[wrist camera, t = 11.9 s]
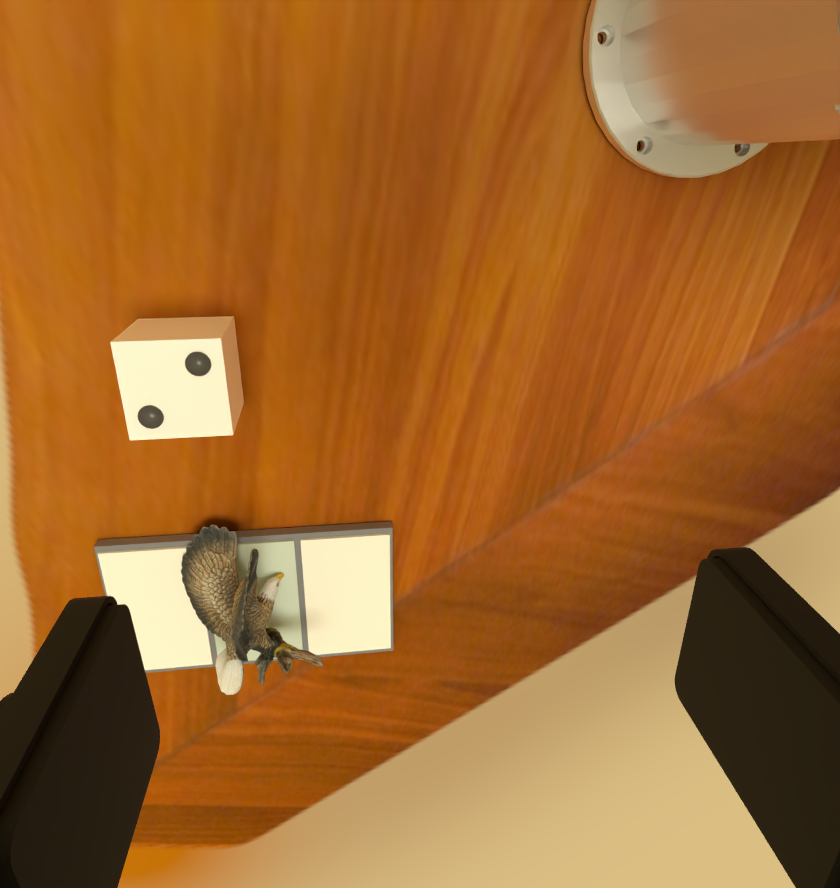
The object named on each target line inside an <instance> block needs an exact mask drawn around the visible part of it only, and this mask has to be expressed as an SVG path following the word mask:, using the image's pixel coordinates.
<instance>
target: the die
mask: <svg viewBox="0 0 840 888" xmlns="http://www.w3.org/2000/svg"><path fill="white" fill-rule="evenodd" d="M111 347H112V353H113V358H114V363H115V368H116V373H117V378H118V383H119V388H120V393H121V398H122V403H123V408H124V413H125V418H126V423H127V428H128V433H129V439H130V440H147V439H167V438H187V437H206V436H226V435H233V434H234V431H235V428H236V425H237V422H238V419H239V416H240V413H241V410H242V407H243V404H244V398H243V389H242V381H241V372H240V363H239V355H238V346H237V338H236V329H235V320H234V316H221V317H185V318H148V319H137V320H136V321H135V322H134V323H133V324H131V325H130V326H129V327H128V328H126V329H125V330H124V331H123V332H122V333H120V334H119V335H118V336H117V337H116V338H114V339H113V340H112V341H111Z"/></svg>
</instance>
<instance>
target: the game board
mask: <svg viewBox="0 0 840 888" xmlns="http://www.w3.org/2000/svg"><path fill="white" fill-rule="evenodd" d="M235 532H236V533H237V560H236V568H237V573H238V578H239V583H241V582H242V581H243V578H244V577H245V576H246V575H247V571H248V563H249V561H250V554H251V550H252V549H254V548H255V549H257V550H258V553H259V558H258V565H257V569H256V574H257V580H258V583H257V595H258V594H259V593H260V591H261V589H262V588H263V586H264V584H265V583H266V581H267V580H268V579H270V578H273V577H275V576H276V575H278V574H280V573H283V574H284V577H283V578H281V580H280V583H279V588H278V591H277V594H276V598H275V602H274V605H273V611H272V614H271V617H270V619H269V621H268V623H267V624H266V628H268V627H272V628H276V629H277V631H279V632H280V634H281V636H282V638H283V640H284V641H285V642H286V643H287V644H290V645H292V646H294V647H296V648H298V649H299V650H306V651H309V652H311V653H314V654H315V655H316V656H317V657H327V656H338V655H349V654H360V653H371V652H382V651H393V534H392V523H391V521H386V522H370V523H354V524H338V525H322V526H307V527H291V528H275V529H259V530H243V531H235ZM199 534H200V533H195V534H180V535H164V536H148V537H132V538H116V539H100V540H98V541H97V542H96V544H95V546H94V549H95V554H96V558H97V562H98V567H99V571H100V575H101V580H102V584H103V588H104V593H105V596H113V597H114V598H115V599H116V601H117V604H118V605H120V604H125V605H127V606H128V608H129V610H130V614H131V618H132V622H133V625H134V629H135V633H136V637H137V641H138V645H139V649H140V653H141V657H142V661H143V665H144V669H145V673H149V672H160V671H172V670H183V669H194V668H205V667H216V659H217V656H218V655H219V654H220V653H221V652H222V651H223V650H224V649H225V648H226V643H225V641H223V640H222V638H221V637H218V636H216V634H212V633H211V631H210V630H208V629H207V628H206V626H205V625H204V624H202V622H201V620H200V619H199V618H198V616H197V615H196V613H195V612H196V611H195V610H194V609H193V607H192V604H191V602H190V598H189V597H188V595H187V593H186V590H185V586H184V584H183V582H182V574H181V569H182V564H181V563H182V557H183V555H184V554H186V547H187V546H192V538H193V536H194V535H199ZM260 654H261V653H260V652H258V651H254V650H252V649H251V650H249V651H248V653H247V658H248V662H243V664H249V663H255V662H256V659H257V658H258V657H259V655H260ZM292 660H293V659H292ZM273 661H278V659H277V658H275V657H274V659H273Z"/></svg>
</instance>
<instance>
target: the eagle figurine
mask: <svg viewBox="0 0 840 888" xmlns="http://www.w3.org/2000/svg"><path fill="white" fill-rule="evenodd" d="M258 558H259V553H258V550H257V549H255V548H254V549H252V550H251V554H250V561H249V563H248V571H247V575H246V576H245V577H244V578H243V581H242V582H241V583H239V578H238V573H237V568H236V560H237V533H236V532H235V531H229V530H228V529H227V528H226V527H221V528H220V529H219V528H218V527H217V526H216V525H210V527H203V528H201V530H200V534H199V535H194V536H193V538H192V546H187V547H186V554H184V555H183V557H182V563H181V564H182V569H181V574H182V582H183V584H184V586H185V590H186V593H187V595H188V597H189V598H190V602H191V604H192V607H193V609H194V610H195V611H196V612H195V613H196V615H197V616H198V618H199V619H200V620H201V622H202V624H204V625H205V626H206V628H207V629H208V630H210V631H211V633H212V634H216V636H218V637H221V638H222V640H223V641H225V643H226V648H225V649H224V650H223V651H222V652H221V653H220V654H219V655H218V656H217V659H216V671H217V677H218V684H219V686H220V690H221V692H223V693H225V694H226V695H231V694H232V695H233V694H235V693H237V692H238V691H239V690H240V689H241V686H242V683H243V674H244V670H243V662H248V658H247V653H248V651H249V650H251V649H252V650H254V651H258V652H260V653H261V654H260V655H259V657H258V658H257V659H256V662H255V665H258V664H259V665H258V670H259V676H258V679H259V682H260V684H261V685H263V684H264V678H265V673H266V670H267V668H268V667H269V665H270V664H271V663H272V662H273V659H274V657H275V658H277V659H278V663H279V664H280V666H281V668H282V670H283V672H284V673H289V672H290V670H291V668H292V659H298V660H304V661H307V662H311V663H312V664H313V665H315V666H317V667H322V666H323V665H324V663H323V662H322V661H321V660H320V659H319V658H318V657H317V656H316V655H315V654H314V653H311V652H309V651H306V650H299V649H298V648H296V647H294V646H292V645H290V644H287V643H286V642H285V641H284V640H283V638H282V636H281V634H280V632H279V631H277V629H276V628H272V627H268V628H266V624H267V623H268V621H269V619H270V617H271V614H272V611H273V605H274V602H275V598H276V594H277V591H278V588H279V583H280V580H281V578H283V577H284V574H283V573H280V574H278V575H276V576H275V577H273V578H270V579H268V580H267V581H266V583H265V584H264V586H263V588H262V589H261V591H260V593H259V594H258V595H257V583H258V580H257V574H256V569H257V565H258Z"/></svg>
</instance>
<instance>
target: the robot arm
mask: <svg viewBox="0 0 840 888" xmlns="http://www.w3.org/2000/svg"><path fill="white" fill-rule="evenodd" d="M598 33H600V34H601V35H602V36H603V42H602V44H600V43H599V42H598V38H597V35H598ZM583 74H584V80H585V85H586V90H587V96H588V100H589V103H590V105H591V108H592V111H593V113H594V116H595V119H596V121H597V123H598V125H599V126H600V128H601V130H602V131H603V133H604V134H605V136H606V138H607V139H608V141H609V142H610V143H611V144H612V145H613V146H614V147H615V148H616V149H617V151H618V152H619V153H620V154H621V155H622V156H623V157H624V158H626V159H627V160H629V161H630V162H632V163H633V164H635V165H636V166H638V167H640V168H641V169H644V170H646V171H649V172H652V173H655V174H657V175H660V176H668V177H676V178H700V177H705V176H709V175H714V174H719V173H722V172H724V171H726V170H729V169H731V168H733V167H736V166H738V165H740V164H742V163H744V162H745V161H747V160H748V159H750V158H751V157H753V156H754V155H756V154H757V153H759V152H760V151H761V150H763V149H764V148H765V147H766V146H767V145H768V144H769V143H774V142H795V141H816V140H837V139H840V0H592V1H591V4H590V8H589V11H588V14H587V18H586V26H585V33H584V40H583ZM638 141H639V142H640V143H641V147H640V149H639V150H638V151H637V146H636V145H637V143H638ZM735 145H736V149H735ZM675 687H676V692H677V695H678V697H679V699H680V701H681V703H682V704H683V706H684V708H685V709H686V711H687V712H688V714H689V716H690V717H691V719H692V721H693V722H694V724H695V725H696V727H697V729H698V730H699V732H700V733H701V735H702V737H703V738H704V740H705V742H706V743H707V745H708V746H709V748H710V750H711V751H712V753H713V755H714V756H715V758H716V759H717V761H718V762H719V764H720V766H721V767H722V769H723V770H724V772H725V774H726V775H727V777H728V779H729V780H730V782H731V783H732V785H733V787H734V788H735V790H736V792H737V793H738V795H739V797H740V798H741V800H742V801H743V803H744V805H745V806H746V808H747V809H748V811H749V813H750V814H751V816H752V818H753V819H754V821H755V822H756V824H757V826H758V827H759V829H760V830H761V832H762V834H763V835H764V837H765V839H766V840H767V842H768V843H769V845H770V847H771V848H772V850H773V851H774V853H775V855H776V856H777V858H778V860H779V861H780V863H781V864H782V866H783V868H784V869H785V871H786V872H787V874H788V876H789V877H790V879H791V881H792V882H793V884H794V885H795V887H796V888H840V634H839V633H838V632H837V631H836V630H835V629H834V628H833V627H832V626H831V625H830V624H829V623H828V622H827V621H826V620H825V619H824V618H823V617H822V616H821V615H820V614H819V613H817V612H816V611H815V610H814V609H813V608H812V607H811V606H810V605H809V604H808V603H807V602H806V601H805V600H804V599H803V598H802V597H801V596H800V595H799V594H798V593H797V592H796V591H795V590H794V589H793V588H792V587H791V586H790V585H789V584H787V582H785V581H784V580H783V579H782V578H781V577H780V576H779V575H778V574H777V573H776V572H775V571H774V570H773V569H772V568H771V567H770V566H769V565H768V564H767V563H766V562H765V561H764V560H763V559H762V558H761V557H760V556H759V555H758V554H757V553H756V552H754V551H753V550H752V549H750V548H746V547H742V548H729V549H716V550H713V551H711V552H710V554H709V555H708V558H707V559H704V560H702V561H701V562H700V564H699V567H698V572H697V577H696V581H695V586H694V591H693V595H692V600H691V605H690V609H689V614H688V619H687V623H686V628H685V633H684V637H683V642H682V647H681V651H680V656H679V661H678V665H677V670H676V675H675ZM159 743H160V730H159V725H158V721H157V717H156V713H155V709H154V705H153V701H152V697H151V693H150V689H149V685H148V681H147V677H146V673H145V669H144V665H143V661H142V657H141V653H140V649H139V645H138V641H137V637H136V633H135V629H134V625H133V622H132V618H131V614H130V610H129V608H128V606H127V605H125V604H120V605H118V604H117V601H116V599H115V598H114V597H113V596H100V597H87V598H74V599H72V600H70V601H69V602H68V604H67V605H66V606H65V608H64V610H63V611H62V613H61V615H60V616H59V618H58V620H57V621H56V623H55V625H54V626H53V628H52V630H51V631H50V633H49V635H48V636H47V638H46V640H45V641H44V643H43V645H42V646H41V648H40V650H39V651H38V653H37V655H36V656H35V658H34V660H33V661H32V663H31V665H30V666H29V668H28V670H27V671H26V673H25V675H24V677H23V678H22V680H21V681H20V683H19V685H18V686H17V688H16V690H15V691H14V693H10V694H9V695H7V696H6V697H4V698H3V699H2V700H1V701H0V888H117V887H118V883H119V880H120V877H121V874H122V870H123V867H124V864H125V860H126V857H127V854H128V850H129V847H130V844H131V840H132V837H133V834H134V830H135V827H136V824H137V820H138V817H139V814H140V810H141V807H142V804H143V801H144V797H145V794H146V791H147V787H148V784H149V781H150V777H151V774H152V771H153V767H154V764H155V761H156V757H157V754H158V750H159Z"/></svg>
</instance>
